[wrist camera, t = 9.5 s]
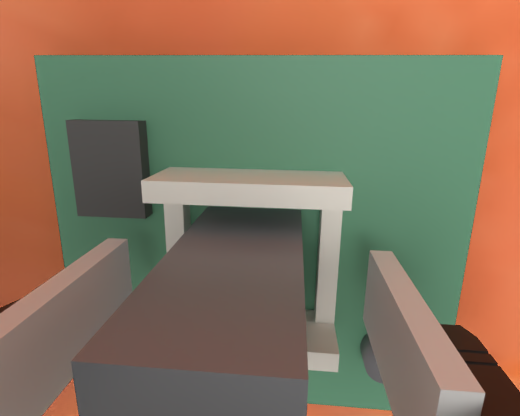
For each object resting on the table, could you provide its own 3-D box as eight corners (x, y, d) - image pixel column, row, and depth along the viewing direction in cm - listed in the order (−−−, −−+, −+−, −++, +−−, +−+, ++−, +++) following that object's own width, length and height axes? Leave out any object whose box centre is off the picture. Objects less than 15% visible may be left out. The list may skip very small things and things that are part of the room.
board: (50, 58, 16) (-30, 42, 12) (488, 58, 14) (560, 40, 10) (91, 370, 20) (43, 433, 16) (431, 398, 18) (467, 475, 15)
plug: (207, 206, 16) (70, 360, 6) (301, 209, 15) (308, 379, 6) (210, 301, 17) (99, 553, 7) (296, 306, 17) (297, 578, 7)
